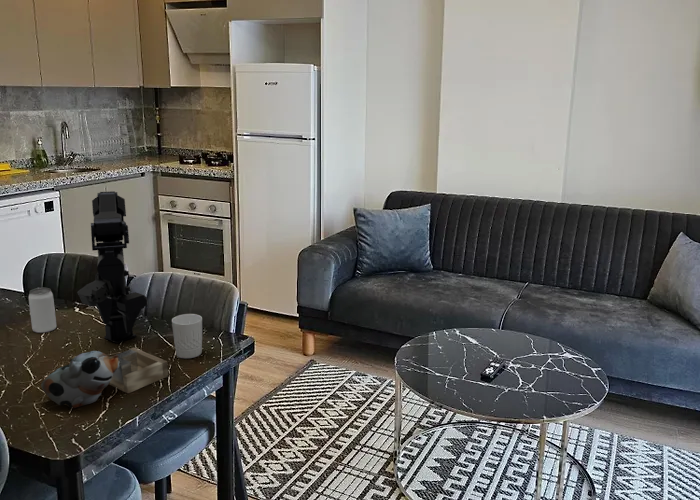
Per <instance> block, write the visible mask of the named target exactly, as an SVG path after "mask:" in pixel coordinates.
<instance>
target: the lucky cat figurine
mask: <svg viewBox="0 0 700 500" xmlns="http://www.w3.org/2000/svg"><path fill="white" fill-rule="evenodd" d="M69 361H70V362H69V364H65V365H64V366H61V367H59V368H56V369H55V370H54V371H53V372H52V373H50V374H49V375H48V376H46V378H44V380H43V381H42V382H41V383H40V384H41V385H40V386H41V389H42V390H43V393H44V394H45V395H46V396H47V397H48V398H49V399H50V400H51V401H53V402H54V403H56V405H58V406H65V405H67V407H68V408H70V409H77V408H79V407H83V406H87V405H90V404H92V403H96V402H97V400H98V399H99V397H100V396H101V395H102V392H103V390H104V389H105V388H107V387H108V385H110V384H109V382H110V381H111V379H112V377H113V374H114V373H115V371H116V370H117V369H118V368H119V363H120V359H119V358H118V355H117V354H114V355H112V357H111V356H109V355H107V354H106V353H105V352H101V351H99V350H91V351H88V352H83V353H80V354H78V355H73V356H71V358H70V359H69Z"/></svg>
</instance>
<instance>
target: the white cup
mask: <svg viewBox="0 0 700 500" xmlns="http://www.w3.org/2000/svg"><path fill="white" fill-rule="evenodd" d="M171 326H172V336H173V341H174V347H175V355H176V356H177V358H179V359H192V358H196V357H199V356H201V354H202V352H203V346H202V345H203V317H202V316H201V315H199V314H196V313H184V314H179V315H176V316H175V317H172V318H171Z"/></svg>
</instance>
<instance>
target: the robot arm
mask: <svg viewBox="0 0 700 500" xmlns="http://www.w3.org/2000/svg"><path fill="white" fill-rule="evenodd" d="M125 200H126V199H125V198H124V197H122V196H120V195H118V192H117V191H113V190H111V191H100V192H97V195H96V197H95V198H93V199H92V200H91V203H92V215H93V222H90V231H91V232H90V235H91V249H92V251H97V266H96V269H97V272H95V276H94V277H95V279H94V281H91V282H89V283H87V284H84V286H83V287H81V288H80V289H79V290H78V291H77V292H76V293H77V295H78V298H79V300H80V301H81V303H82V304H83V305H87V306H89V307H95V308H96V309H97V311H98V313H99V315H100V318H101V320H102V322H103V324H104V330H105V335H104V339H106V340H109V341H111V342H112V343H116V344H119V343H122V342H125V341H127V340H130V339H134V338H136V337H137V334H135V333H134V332H133V330H134V329H133V328H134V325H135V324H136V321H137V319H138V316H139V314H140V313H141V312H142V309H144V308H145V307H148V305H149V303H148V297H147V296H146V295H145V294H142V293H139V292H137V291H134V292H131V287H130V286H128V285H127V281H126V277H127V276H129V275H130V272H129V271H128V270H126V269H125V258H124V256H125V255H124V249H127V248H128V246H127V245H128V244H130V239H129V237H130V235H129V226H128V225H127V223H126V221H125V219H124V217H127V210H126V201H125ZM130 292H131V293H130Z"/></svg>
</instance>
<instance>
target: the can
mask: <svg viewBox="0 0 700 500" xmlns="http://www.w3.org/2000/svg"><path fill="white" fill-rule="evenodd" d="M28 292H29V294H28V305H29V313H30V320H31V322H30V323H31V330H32V331H33V332H34V333H37V334H43V333H50V332H53V331H55V329H56V328H57V318H56V310H55V302H54V301H55V300H54V293H53V292H52V290H51V288H48V287H37V288H34V289H31V290H29V291H28Z"/></svg>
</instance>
